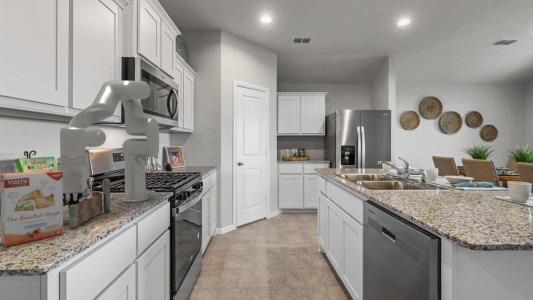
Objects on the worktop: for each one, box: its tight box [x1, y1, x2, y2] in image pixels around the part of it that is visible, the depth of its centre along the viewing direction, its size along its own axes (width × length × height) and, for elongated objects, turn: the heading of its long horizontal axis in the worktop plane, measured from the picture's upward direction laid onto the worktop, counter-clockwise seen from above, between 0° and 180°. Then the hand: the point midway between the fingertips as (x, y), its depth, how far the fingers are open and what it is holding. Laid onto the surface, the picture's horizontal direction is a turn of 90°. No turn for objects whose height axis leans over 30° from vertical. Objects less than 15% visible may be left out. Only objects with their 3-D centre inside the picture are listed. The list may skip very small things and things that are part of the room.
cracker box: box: [0, 169, 64, 247], centre depth 84 cm, size 14×6×21 cm, turn 143°
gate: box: [68, 193, 103, 228], centre depth 103 cm, size 21×2×7 cm, turn 8°
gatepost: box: [101, 178, 111, 215], centre depth 114 cm, size 3×3×14 cm
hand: (74, 210), depth 99 cm, fingers closed
